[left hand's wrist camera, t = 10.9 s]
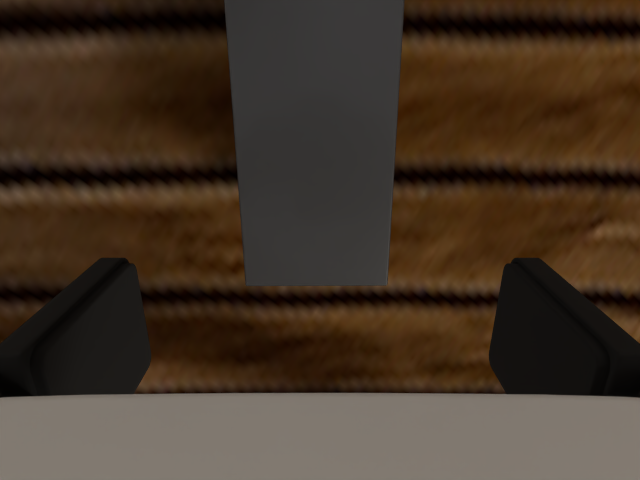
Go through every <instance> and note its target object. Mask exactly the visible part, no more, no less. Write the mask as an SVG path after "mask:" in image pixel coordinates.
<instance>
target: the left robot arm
mask: <svg viewBox="0 0 640 480" xmlns="http://www.w3.org/2000/svg"><path fill="white" fill-rule="evenodd" d="M150 361H151V350H150V344H149V339H148V333H147V327H146V321H145V316H144V310H143V304H142V298H141V293H140V287H139V281H138V275H137V270H136V267H135V265H134V264H129V262H128V260H127V259H126V258H101V259H99V260H98V261H97V262H95V263H94V264H93V265H92V266H91V267H89V268H88V269H87V270H86V271H85V272H84V273H82V274H81V275H80V276H79V277H78V278H77V279H75V280H74V281H73V282H72V283H71V284H70V285H68V286H67V287H66V288H65V289H64V290H63V291H61V292H60V293H59V294H58V295H57V296H56V297H54V298H53V299H52V300H51V301H50V302H49V303H47V304H46V305H45V306H44V307H43V308H42V309H40V310H39V311H38V312H37V313H36V314H34V315H33V316H32V317H31V318H30V319H29V320H27V321H26V322H25V323H24V324H23V325H22V326H20V327H19V328H18V329H17V330H16V331H15V332H13V333H12V334H11V335H10V336H9V337H8V338H6V339H5V340H4V341H3V342H2V343H1V344H0V480H640V344H639V343H638V342H637V341H636V340H635V339H634V338H632V337H631V336H630V335H629V334H628V333H627V332H625V331H624V330H623V329H622V328H621V327H620V326H618V325H617V324H616V323H615V322H614V321H613V320H611V319H610V318H609V317H608V316H607V315H606V314H604V313H603V312H602V311H601V310H600V309H598V308H597V307H596V306H595V305H594V304H593V303H591V302H590V301H589V300H588V299H587V298H586V297H584V296H583V295H582V294H581V293H580V292H579V291H577V290H576V289H575V288H574V287H573V286H572V285H570V284H569V283H568V282H567V281H566V280H565V279H563V278H562V277H561V276H560V275H559V274H558V273H556V272H555V271H554V270H553V269H552V268H550V267H549V266H548V265H547V264H546V263H545V262H543V261H542V260H541V259H539V258H514V259H513V260H512V262H511V264H506V265H505V267H504V270H503V275H502V281H501V287H500V293H499V298H498V304H497V310H496V316H495V321H494V327H493V333H492V339H491V344H490V350H489V361H490V365H491V368H492V369H493V371H494V373H495V375H496V376H497V378H498V380H499V382H500V383H501V385H502V387H503V388H504V390H505V392H506V394H424V393H204V394H134V392H135V390H136V388H137V387H138V385H139V383H140V382H141V380H142V378H143V376H144V375H145V373H146V371H147V369H148V368H149V365H150Z"/></svg>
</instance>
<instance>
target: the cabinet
mask: <svg viewBox="0 0 640 480" xmlns="http://www.w3.org/2000/svg"><path fill="white" fill-rule="evenodd" d="M224 4H225V17H226V31H227V44H228V57H229V70H230V83H231V97H232V110H233V123H234V136H235V149H236V163H237V176H238V189H239V202H240V215H241V229H242V242H243V255H244V268H245V281H246V286H363V285H387V283H388V266H389V250H390V233H391V216H392V199H393V182H394V166H395V149H396V132H397V115H398V99H399V82H400V65H401V48H402V31H403V15H404V0H224Z"/></svg>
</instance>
